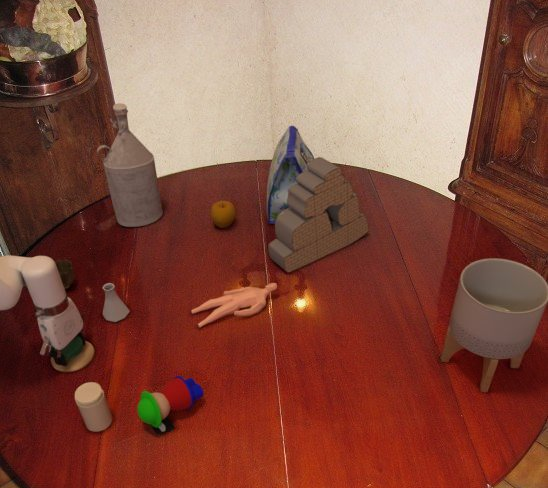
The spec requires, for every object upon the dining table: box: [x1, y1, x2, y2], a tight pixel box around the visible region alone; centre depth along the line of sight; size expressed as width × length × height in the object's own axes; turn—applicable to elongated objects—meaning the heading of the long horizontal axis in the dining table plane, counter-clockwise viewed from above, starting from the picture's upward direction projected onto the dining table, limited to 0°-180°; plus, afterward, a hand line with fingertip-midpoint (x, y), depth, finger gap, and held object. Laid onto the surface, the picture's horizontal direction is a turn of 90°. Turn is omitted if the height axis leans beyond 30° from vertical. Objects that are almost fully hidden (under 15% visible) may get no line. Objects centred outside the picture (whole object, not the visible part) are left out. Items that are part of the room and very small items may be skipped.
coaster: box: [50, 340, 95, 373], centre depth 146 cm, size 11×11×1 cm
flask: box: [102, 282, 131, 323], centre depth 155 cm, size 7×7×10 cm
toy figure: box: [137, 375, 204, 437], centre depth 129 cm, size 9×10×15 cm
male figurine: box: [191, 282, 278, 329], centre depth 157 cm, size 11×5×25 cm
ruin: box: [267, 156, 370, 273], centre depth 169 cm, size 34×10×30 cm, turn 125°
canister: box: [96, 102, 164, 228], centre depth 182 cm, size 13×17×40 cm
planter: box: [440, 257, 548, 393], centre depth 132 cm, size 19×19×26 cm
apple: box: [210, 200, 237, 229], centre depth 187 cm, size 9×8×9 cm
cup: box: [53, 258, 75, 291], centre depth 165 cm, size 8×7×8 cm
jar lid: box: [54, 335, 84, 359], centre depth 144 cm, size 7×7×2 cm
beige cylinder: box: [74, 381, 114, 433], centre depth 127 cm, size 6×6×10 cm
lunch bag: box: [266, 125, 315, 225], centre depth 188 cm, size 22×17×26 cm
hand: (71, 353), depth 146 cm, fingers closed on jar lid, 7 cm apart
